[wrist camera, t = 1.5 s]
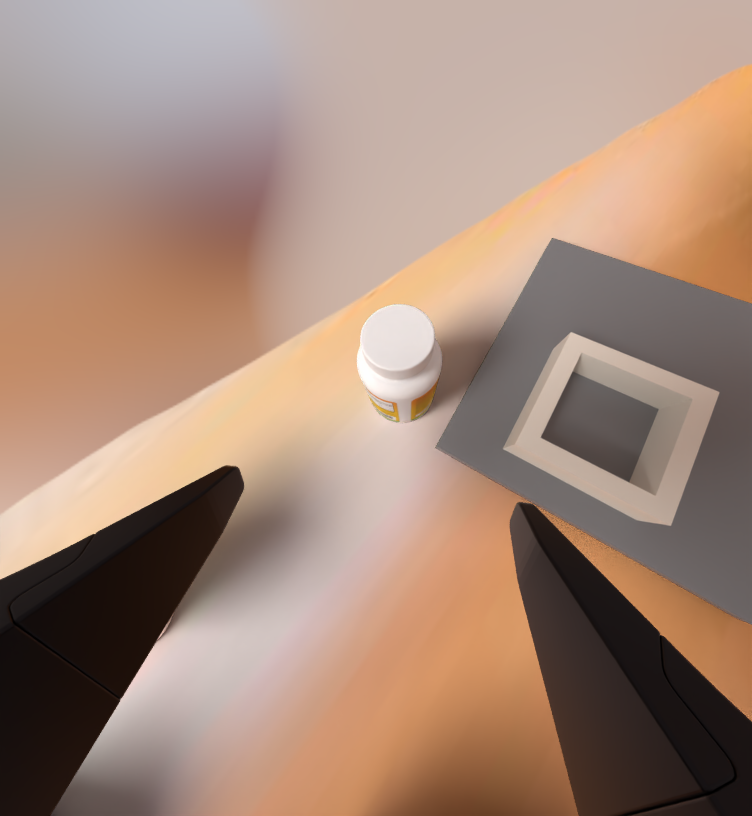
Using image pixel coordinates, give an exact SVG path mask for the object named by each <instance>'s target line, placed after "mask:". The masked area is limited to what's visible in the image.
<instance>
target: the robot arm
mask: <svg viewBox="0 0 752 816" xmlns="http://www.w3.org/2000/svg"><path fill="white" fill-rule="evenodd" d="M243 490H244V482H243V479H242V476H241V472H240V470H239V468H238V467H236V466H229V465H226V466H223V467H221V468H219V469H217V470H215V471H214V472H212V473H210V474H208V475H206V476H204V477H202V478H200V479H198V480H196V481H194V482H192V483H190V484H189V485H187V486H185V487H183V488H181V489H179V490H177V491H175V492H173V493H171V494H169V495H167V496H165V497H164V498H162V499H160V500H158V501H156V502H154V503H152V504H150V505H148V506H146V507H144V508H142V509H140V510H139V511H137V512H135V513H133V514H131V515H129V516H127V517H125V518H123V519H121V520H119V521H117V522H115V523H113V524H112V525H110V526H108V527H106V528H104V529H102V530H100V531H98V532H97V533H96V534H92V535H90V536H88V537H86V538H85V539H83V540H81V541H79V542H77V543H75V544H73V545H71V546H69V547H67V548H65V549H63V550H61V551H59V552H57V553H55V554H53V555H51V556H49V557H47V558H45V559H43V560H41V561H39V562H37V563H35V564H32V565H30V566H28V567H26V568H24V569H22V570H20V571H18V572H16V573H13V574H11V575H9V576H7V577H5V578H3V579H1V580H0V816H50V815H51V814H52V812H53V810H54V809H55V807H56V805H57V804H58V802H59V800H60V799H61V797H62V795H63V794H64V792H65V791H66V789H67V787H68V786H69V784H70V782H71V781H72V779H73V777H74V776H75V774H76V773H77V771H78V769H79V768H80V766H81V764H82V763H83V761H84V759H85V758H86V756H87V755H88V753H89V751H90V750H91V748H92V746H93V745H94V743H95V741H96V740H97V738H98V737H99V735H100V733H101V732H102V730H103V728H104V727H105V725H106V723H107V722H108V720H109V718H110V717H111V715H112V714H113V712H114V710H115V709H116V707H117V705H118V704H119V702H120V699H121V698H122V697H123V695H124V694H125V692H126V690H127V689H128V687H129V685H130V684H131V682H132V680H133V679H134V677H135V676H136V674H137V672H138V671H139V669H140V667H141V666H142V664H143V662H144V661H145V659H146V658H147V656H148V654H149V653H150V651H151V649H152V648H153V646H154V644H155V643H156V641H157V639H158V638H159V636H160V635H161V633H162V631H163V630H164V628H165V626H166V625H167V623H168V621H169V620H170V618H171V617H172V615H173V613H174V612H175V610H176V608H177V607H178V605H179V603H180V602H181V600H182V599H183V597H184V595H185V594H186V592H187V590H188V589H189V587H190V585H191V584H192V582H193V580H194V579H195V577H196V576H197V574H198V572H199V571H200V569H201V567H202V566H203V564H204V562H205V561H206V559H207V558H208V556H209V554H210V553H211V551H212V549H213V548H214V546H215V544H216V543H217V541H218V540H219V538H220V536H221V534H222V533H223V531H224V529H225V527H226V525H227V523H228V521H229V519H230V517H231V515H232V513H233V511H234V509H235V507H236V504H237V502H238V500H239V498H240V496H241V494H242V492H243ZM510 533H511V540H512V546H513V553H514V560H515V566H516V573H517V579H518V584H519V588H520V592H521V596H522V600H523V604H524V607H525V611H526V615H527V619H528V623H529V627H530V630H531V634H532V638H533V642H534V646H535V650H536V653H537V657H538V661H539V665H540V669H541V673H542V676H543V680H544V684H545V688H546V692H547V696H548V699H549V703H550V707H551V711H552V715H553V719H554V722H555V726H556V730H557V734H558V738H559V742H560V745H561V749H562V753H563V757H564V761H565V765H566V768H567V772H568V776H569V780H570V784H571V788H572V791H573V795H574V799H575V803H576V807H577V811H578V814H579V816H752V722H751V721H750V720H749V719H748V718H747V717H746V716H745V715H744V714H743V713H742V712H741V711H740V710H739V709H738V708H737V707H735V706H734V705H733V704H732V703H731V702H730V701H729V700H728V699H727V698H726V697H725V696H724V695H723V694H722V693H721V692H720V691H718V690H717V689H716V688H715V687H714V686H713V685H712V684H711V683H710V682H709V681H708V680H707V679H706V678H705V677H704V676H703V675H702V674H701V673H700V672H699V671H698V670H697V669H696V668H695V667H694V666H693V665H692V664H691V663H690V662H689V661H688V660H687V659H686V658H685V657H684V656H683V655H682V654H681V653H680V652H679V651H678V650H677V649H676V648H675V647H674V646H673V645H672V644H671V643H670V642H669V641H668V640H667V639H666V638H665V637H664V636H662V635H660V633H659V631H658V630H657V629H656V628H655V627H654V626H653V625H652V624H651V623H650V622H649V621H648V620H647V619H646V618H645V617H644V616H643V615H642V614H641V613H640V612H639V611H638V610H637V609H636V608H635V607H634V606H633V605H632V604H631V603H630V602H629V601H628V600H627V599H626V598H625V597H624V596H623V595H622V594H621V593H620V592H619V590H618V589H617V588H616V587H615V586H614V585H613V584H612V583H611V582H610V581H609V580H608V579H607V578H606V577H605V576H604V575H603V574H602V573H601V572H600V571H599V570H598V569H597V568H596V567H595V566H594V565H593V564H592V563H591V562H590V561H589V560H588V559H587V558H586V557H585V556H584V555H583V554H582V553H581V552H580V551H579V550H578V549H577V548H576V547H575V546H574V545H573V544H572V543H571V542H570V541H569V540H568V539H567V538H566V537H565V536H564V535H563V534H562V533H561V532H560V531H559V530H558V529H557V528H556V527H555V526H554V525H553V524H552V523H551V522H550V521H549V520H548V519H547V518H546V517H545V516H544V515H543V514H542V513H541V511H540V510H539V509H538V508H537V507H536V506H534V505H533V504H530V503H522V502H518V503H517V504H516V506H515V509H514V511H513V514H512V516H511V519H510Z"/></svg>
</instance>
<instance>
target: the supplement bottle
mask: <svg viewBox="0 0 752 816" xmlns="http://www.w3.org/2000/svg"><path fill="white" fill-rule="evenodd" d="M360 343H361V345H360V348H359V351H358V355H357V368H358V372H359V375H360V378H361V380H362V383H363V385H364V387H365V389H366V391H367V394H368V396H369V398H370V400H371V402H372V404H373V406H374V408H375V409H376V411H377V412H378V413H379V414H380V415H381V416H382V417H384V418H385V419H387V420H389V421H392V422H396V423H407V422H411V421H414V420H416V419H418V418H420V417H421V416H422V415H424V414H425V413H426V411H427V410H428V409H429V407H430V405H431V403H432V401H433V398H434V394H435V390H436V387H437V383H438V380H439V376H440V372H441V368H442V352H441V349H440V346H439V343H438V342H437V340H436V338H435V330H434V327H433V324H432V322H431V320H430V319H429V317H428V316H427V315H426V314H425V313H424V312H422V311H421V310H419V309H418V308H416V307H413V306H410V305H405V304H394V305H389V306H386V307H383V308H381V309H379V310H377V311H376V312H374V313H373V314H372V315H371V316H370V317H369V318H368V319H367V321H366V322H365V324H364V326H363V328H362V331H361V337H360Z"/></svg>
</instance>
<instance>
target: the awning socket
mask: <svg viewBox="0 0 752 816" xmlns="http://www.w3.org/2000/svg"><path fill="white" fill-rule="evenodd" d="M435 448H437V449H438V450H440V451H442V452H444V453H445V454H447V455H449V456H451V457H452V458H454V459H456V460H458V461H459V462H461V463H463V464H465V465H467V466H468V467H470V468H472V469H474V470H475V471H477V472H479V473H481V474H482V475H484V476H486V477H488V478H489V479H491V480H493V481H495V482H497V483H498V484H500V485H502V486H504V487H505V488H507V489H509V490H511V491H512V492H514V493H516V494H518V495H519V496H521V497H523V498H525V499H527V500H528V501H530V502H532V503H534V504H535V505H537V506H539V507H541V508H542V509H544V510H546V511H548V512H549V513H551V514H553V515H555V516H557V517H558V518H560V519H562V520H564V521H565V522H567V523H569V524H571V525H572V526H574V527H576V528H578V529H579V530H581V531H583V532H585V533H586V534H588V535H590V536H592V537H594V538H595V539H597V540H599V541H601V542H602V543H604V544H606V545H608V546H609V547H611V548H613V549H615V550H616V551H618V552H620V553H622V554H624V555H625V556H627V557H629V558H631V559H632V560H634V561H636V562H638V563H639V564H641V565H643V566H645V567H646V568H648V569H650V570H652V571H654V572H655V573H657V574H659V575H661V576H662V577H664V578H666V579H668V580H669V581H671V582H673V583H675V584H676V585H678V586H680V587H682V588H684V589H685V590H687V591H689V592H691V593H692V594H694V595H696V596H698V597H699V598H701V599H703V600H705V601H706V602H708V603H710V604H712V605H714V606H715V607H717V608H719V609H721V610H722V611H724V612H726V613H728V614H729V615H731V616H733V617H735V618H737V619H739V620H742V621H744V622H747V623H749V624H751V625H752V304H751V303H748V302H745V301H742V300H739V299H736V298H733V297H730V296H727V295H724V294H721V293H718V292H715V291H712V290H709V289H706V288H703V287H700V286H697V285H694V284H691V283H687V282H684V281H681V280H678V279H675V278H672V277H669V276H666V275H663V274H660V273H657V272H654V271H651V270H648V269H645V268H642V267H639V266H636V265H633V264H630V263H627V262H624V261H621V260H618V259H615V258H612V257H609V256H606V255H603V254H600V253H597V252H594V251H591V250H588V249H585V248H582V247H579V246H576V245H573V244H570V243H566V242H563V241H560V240H557V239H554V238H552V239H551V241H550V242H549V244H548V246H547V248H546V249H545V251H544V253H543V255H542V257H541V258H540V260H539V262H538V264H537V266H536V267H535V269H534V271H533V273H532V275H531V276H530V278H529V280H528V282H527V284H526V285H525V287H524V289H523V291H522V293H521V294H520V296H519V298H518V300H517V302H516V303H515V305H514V307H513V309H512V311H511V312H510V314H509V316H508V318H507V320H506V321H505V323H504V325H503V327H502V329H501V330H500V332H499V334H498V336H497V338H496V339H495V341H494V343H493V345H492V347H491V348H490V350H489V352H488V354H487V356H486V357H485V359H484V361H483V363H482V365H481V366H480V368H479V370H478V372H477V374H476V375H475V377H474V379H473V381H472V383H471V384H470V386H469V388H468V390H467V392H466V393H465V395H464V397H463V399H462V401H461V402H460V404H459V406H458V408H457V409H456V411H455V413H454V415H453V417H452V418H451V420H450V422H449V424H448V426H447V427H446V429H445V431H444V433H443V435H442V436H441V438H440V440H439V442H438V444H437V445H436V447H435Z"/></svg>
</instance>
